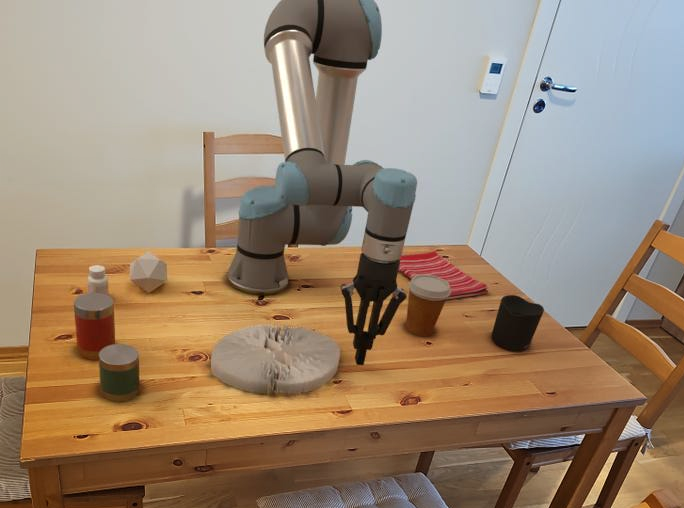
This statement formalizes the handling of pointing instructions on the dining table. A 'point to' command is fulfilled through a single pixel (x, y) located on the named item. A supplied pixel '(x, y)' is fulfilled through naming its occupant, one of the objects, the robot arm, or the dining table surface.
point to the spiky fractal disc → (275, 359)
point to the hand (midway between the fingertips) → (359, 361)
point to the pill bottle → (97, 280)
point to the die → (148, 272)
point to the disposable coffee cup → (425, 303)
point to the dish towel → (441, 273)
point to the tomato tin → (94, 324)
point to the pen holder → (516, 323)
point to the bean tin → (119, 372)
